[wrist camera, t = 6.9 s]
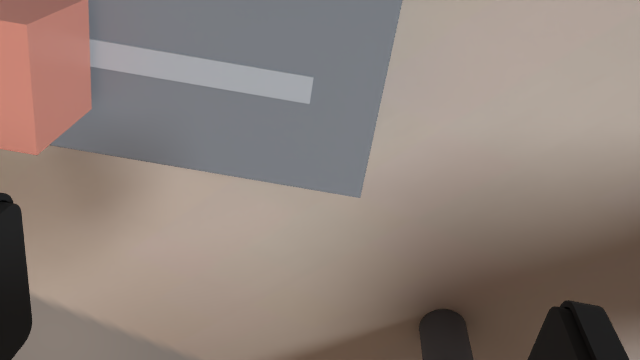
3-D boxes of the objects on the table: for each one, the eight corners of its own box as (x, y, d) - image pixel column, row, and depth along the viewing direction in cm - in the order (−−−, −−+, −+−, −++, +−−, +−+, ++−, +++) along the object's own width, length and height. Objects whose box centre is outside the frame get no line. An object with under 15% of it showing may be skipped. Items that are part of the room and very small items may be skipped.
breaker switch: (88, -2, 20) (26, 24, 16) (91, 108, 21) (37, 155, 18) (17, -15, 20) (-60, 9, 16) (26, 97, 21) (-41, 141, 18)
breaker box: (399, -31, 23) (405, -13, 19) (361, 154, 26) (359, 199, 23) (-12, -102, 22) (-84, -97, 19) (8, 94, 26) (-49, 129, 23)
